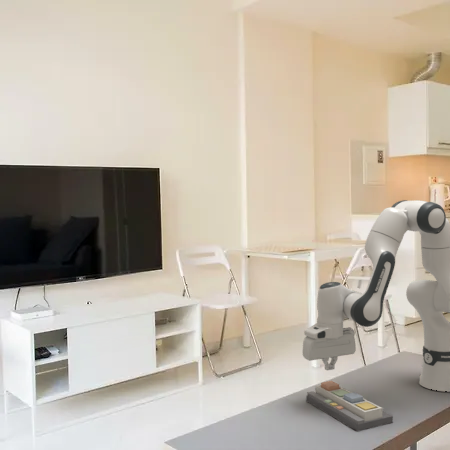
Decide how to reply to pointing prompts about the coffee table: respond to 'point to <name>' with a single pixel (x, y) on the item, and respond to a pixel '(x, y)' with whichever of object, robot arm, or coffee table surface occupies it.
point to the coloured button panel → (348, 409)
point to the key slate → (353, 397)
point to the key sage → (340, 393)
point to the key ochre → (366, 406)
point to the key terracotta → (329, 385)
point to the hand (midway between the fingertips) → (329, 369)
